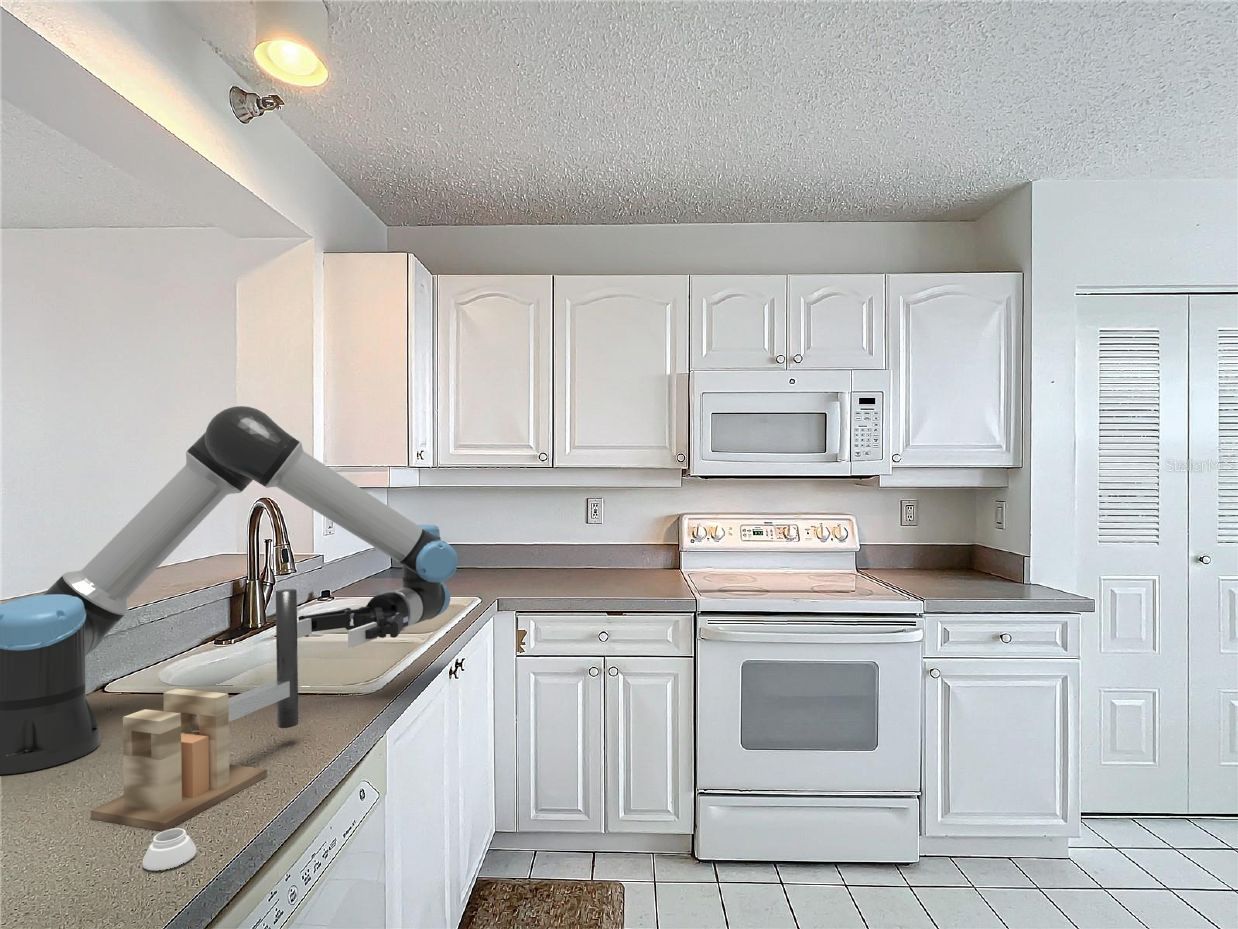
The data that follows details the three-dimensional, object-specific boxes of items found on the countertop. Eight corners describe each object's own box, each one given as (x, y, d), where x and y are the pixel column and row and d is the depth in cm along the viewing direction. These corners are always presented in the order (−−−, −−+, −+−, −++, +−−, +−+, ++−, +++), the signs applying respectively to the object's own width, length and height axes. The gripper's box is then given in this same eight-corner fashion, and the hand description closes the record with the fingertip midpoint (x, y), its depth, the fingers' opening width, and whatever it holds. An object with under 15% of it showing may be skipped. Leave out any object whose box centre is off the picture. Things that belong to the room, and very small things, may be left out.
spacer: (150, 791, 96) (150, 738, 96) (167, 783, 98) (167, 731, 98) (193, 798, 94) (192, 743, 94) (209, 789, 96) (208, 736, 96)
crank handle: (190, 765, 99) (188, 610, 99) (287, 720, 116) (285, 588, 116) (207, 767, 98) (205, 611, 98) (302, 722, 115) (300, 589, 115)
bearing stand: (90, 818, 91) (89, 713, 91) (199, 767, 106) (198, 677, 106) (165, 831, 87) (163, 722, 87) (266, 776, 102) (265, 683, 102)
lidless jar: (202, 847, 84) (153, 853, 83) (201, 821, 84) (152, 827, 83) (187, 870, 79) (135, 877, 78) (187, 843, 79) (134, 849, 78)
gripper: (450, 634, 136) (380, 664, 116) (339, 627, 144) (255, 654, 124) (450, 594, 136) (379, 617, 116) (338, 589, 144) (254, 610, 124)
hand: (315, 636), depth 120 cm, fingers open, 13 cm apart
